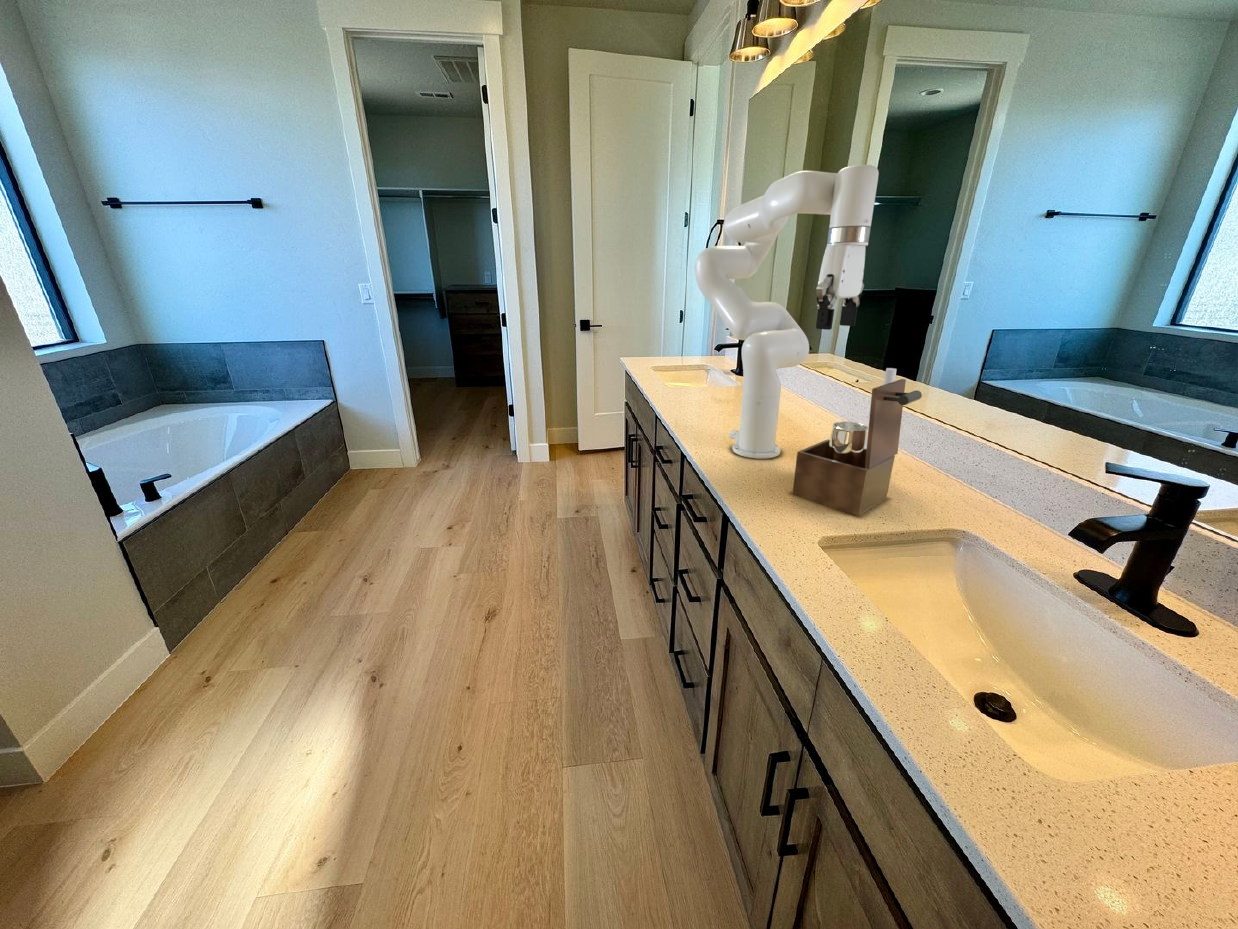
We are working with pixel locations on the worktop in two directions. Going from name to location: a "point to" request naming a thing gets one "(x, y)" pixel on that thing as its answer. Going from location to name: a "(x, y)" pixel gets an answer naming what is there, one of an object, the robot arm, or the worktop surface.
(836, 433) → the beer glass
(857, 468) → the chest
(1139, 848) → the worktop surface
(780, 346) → the robot arm
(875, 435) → the lid
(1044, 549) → the worktop surface
